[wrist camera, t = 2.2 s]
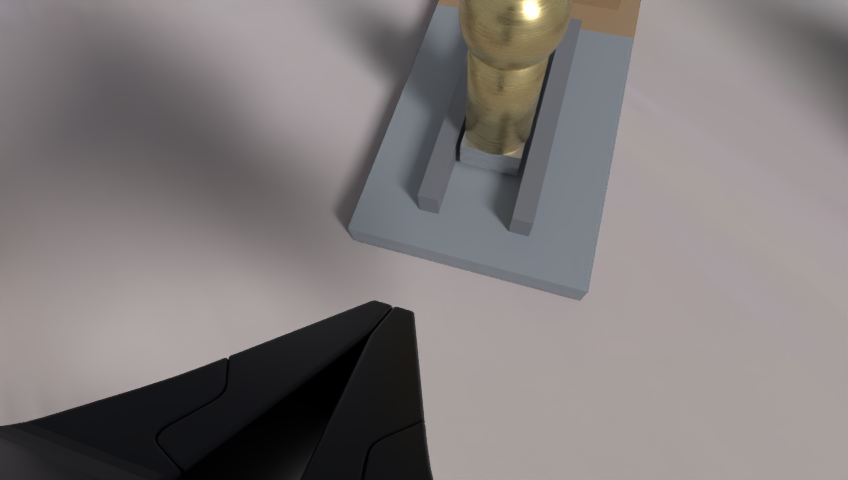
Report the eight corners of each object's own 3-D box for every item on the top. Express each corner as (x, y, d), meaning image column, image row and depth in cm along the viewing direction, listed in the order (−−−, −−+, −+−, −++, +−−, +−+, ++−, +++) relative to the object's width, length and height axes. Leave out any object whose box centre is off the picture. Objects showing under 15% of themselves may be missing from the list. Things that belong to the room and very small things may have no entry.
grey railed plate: (579, 300, 23) (610, 268, 18) (353, 240, 25) (331, 197, 20) (635, -1, 30) (667, -75, 26) (458, -29, 32) (458, -102, 28)
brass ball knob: (524, 186, 23) (573, 14, 14) (448, 168, 24) (444, -7, 14) (559, 47, 27) (619, -169, 17) (492, 34, 27) (512, -180, 18)
